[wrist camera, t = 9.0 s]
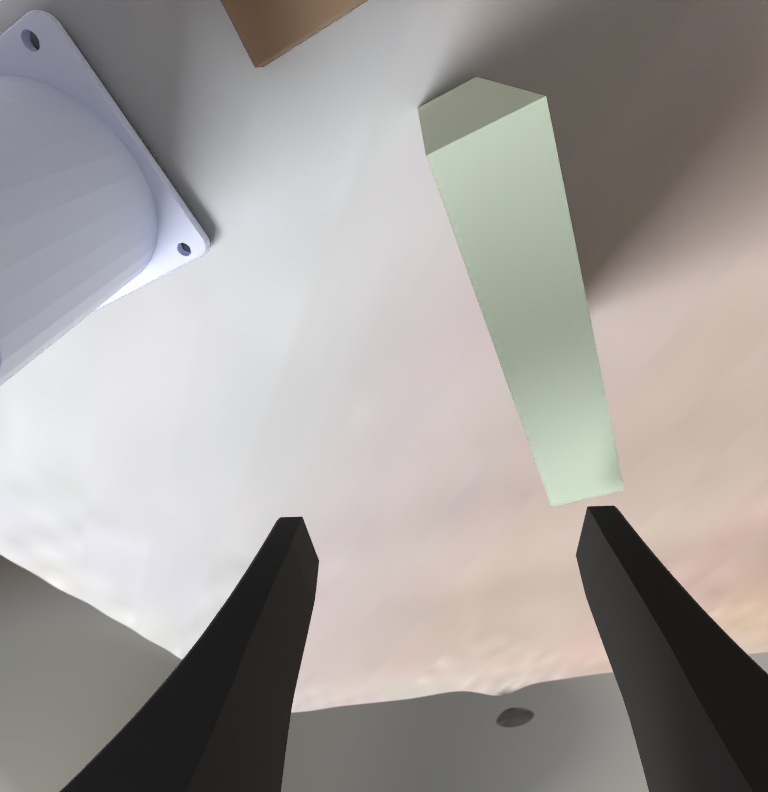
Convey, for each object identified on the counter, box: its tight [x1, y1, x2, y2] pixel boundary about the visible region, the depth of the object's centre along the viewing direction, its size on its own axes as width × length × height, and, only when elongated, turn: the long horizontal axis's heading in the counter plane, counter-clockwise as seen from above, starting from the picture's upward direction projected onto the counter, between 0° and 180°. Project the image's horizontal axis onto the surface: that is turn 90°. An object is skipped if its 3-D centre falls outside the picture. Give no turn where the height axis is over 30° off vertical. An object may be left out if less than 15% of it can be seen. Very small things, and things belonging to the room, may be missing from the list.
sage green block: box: [418, 77, 624, 507], centre depth 13 cm, size 2×10×9 cm, turn 25°
